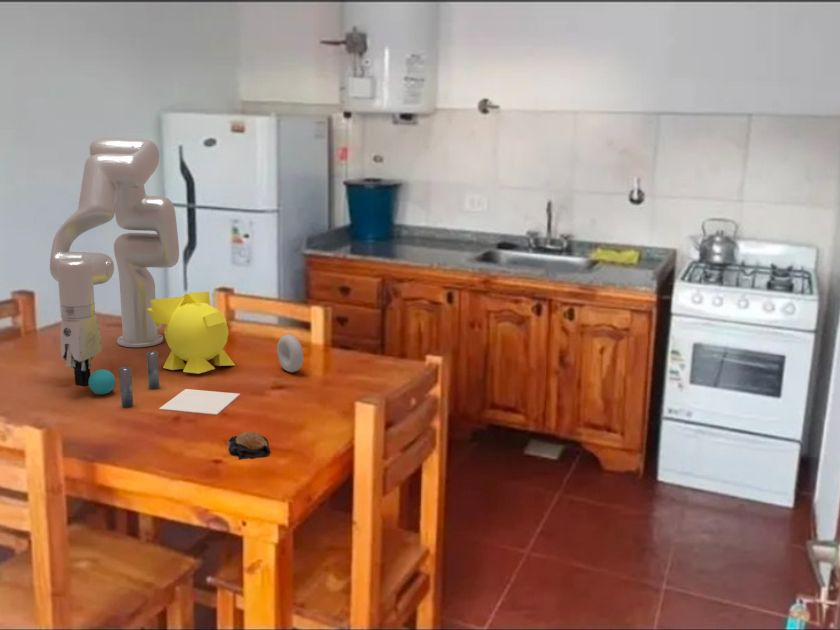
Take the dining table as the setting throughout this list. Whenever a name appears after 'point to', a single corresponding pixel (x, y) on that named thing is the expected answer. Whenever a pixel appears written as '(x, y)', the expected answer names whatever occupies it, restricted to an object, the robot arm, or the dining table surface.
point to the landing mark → (200, 401)
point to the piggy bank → (192, 332)
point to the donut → (290, 353)
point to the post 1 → (126, 387)
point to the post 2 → (153, 370)
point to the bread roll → (249, 446)
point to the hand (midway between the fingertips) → (83, 384)
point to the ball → (101, 381)
